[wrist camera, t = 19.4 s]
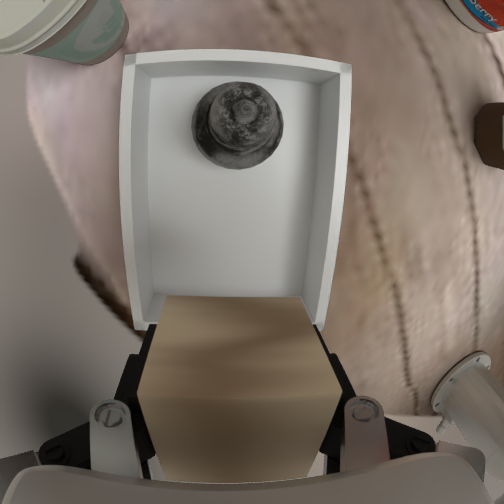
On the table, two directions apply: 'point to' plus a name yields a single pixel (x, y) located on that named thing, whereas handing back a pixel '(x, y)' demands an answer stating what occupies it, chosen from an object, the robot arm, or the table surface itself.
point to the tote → (231, 182)
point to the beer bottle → (491, 134)
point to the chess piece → (237, 125)
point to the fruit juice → (479, 14)
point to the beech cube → (236, 389)
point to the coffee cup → (63, 29)
